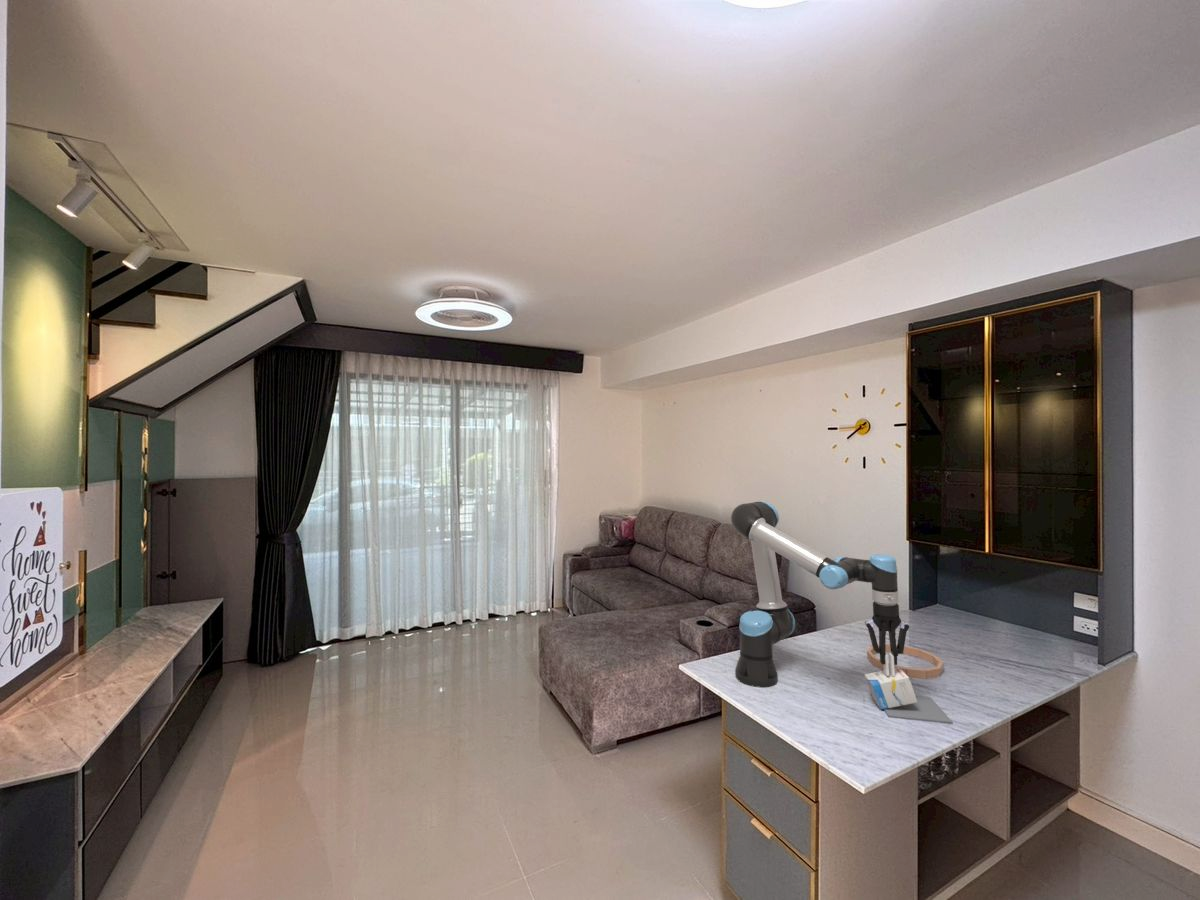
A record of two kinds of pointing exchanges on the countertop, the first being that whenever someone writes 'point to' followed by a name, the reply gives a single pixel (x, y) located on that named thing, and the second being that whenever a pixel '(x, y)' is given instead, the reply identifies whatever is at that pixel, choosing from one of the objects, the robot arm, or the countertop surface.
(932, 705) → the mat
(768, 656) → the robot arm
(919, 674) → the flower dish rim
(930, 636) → the countertop surface
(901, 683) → the ink box
